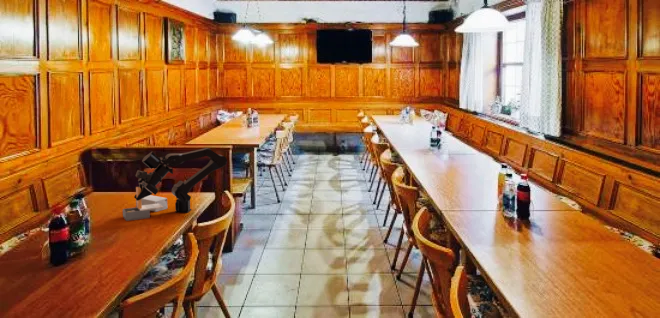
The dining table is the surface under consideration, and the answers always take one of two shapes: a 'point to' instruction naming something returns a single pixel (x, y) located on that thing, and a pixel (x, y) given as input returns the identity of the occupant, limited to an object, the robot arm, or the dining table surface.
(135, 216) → the gray open box
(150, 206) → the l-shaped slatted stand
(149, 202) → the skincare box
